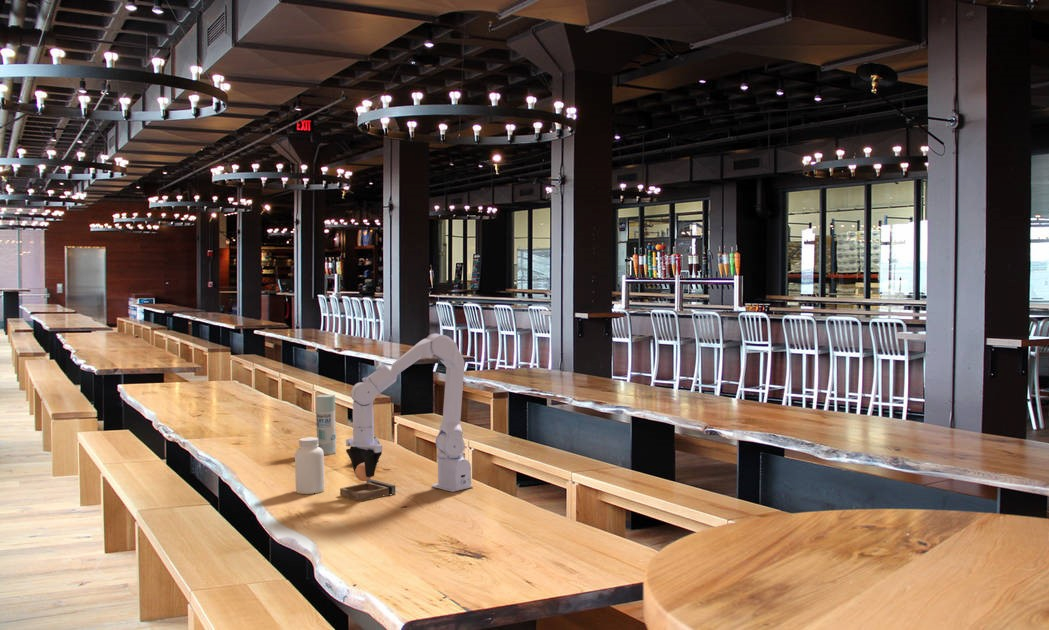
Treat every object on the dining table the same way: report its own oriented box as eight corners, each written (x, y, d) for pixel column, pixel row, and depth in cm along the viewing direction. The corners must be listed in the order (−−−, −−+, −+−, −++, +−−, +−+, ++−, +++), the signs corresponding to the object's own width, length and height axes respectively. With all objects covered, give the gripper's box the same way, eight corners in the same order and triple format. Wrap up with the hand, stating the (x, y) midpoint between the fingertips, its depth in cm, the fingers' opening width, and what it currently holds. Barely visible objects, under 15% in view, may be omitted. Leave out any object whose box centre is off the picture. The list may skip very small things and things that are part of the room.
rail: (395, 494, 241) (395, 485, 241) (391, 495, 240) (391, 486, 240) (370, 487, 250) (369, 478, 250) (366, 488, 249) (366, 479, 249)
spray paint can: (339, 451, 302) (338, 394, 301) (331, 455, 296) (330, 397, 295) (321, 451, 303) (320, 394, 303) (313, 455, 297) (312, 396, 296)
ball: (377, 480, 241) (377, 462, 240) (362, 483, 237) (362, 465, 237) (366, 477, 244) (366, 460, 244) (351, 480, 240) (351, 462, 240)
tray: (389, 494, 241) (389, 487, 241) (360, 501, 234) (360, 494, 234) (368, 489, 247) (368, 482, 247) (340, 495, 241) (340, 488, 240)
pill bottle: (289, 493, 244) (288, 440, 243) (306, 487, 251) (305, 435, 250) (314, 495, 241) (312, 442, 240) (330, 489, 248) (329, 436, 248)
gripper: (336, 425, 242) (337, 473, 243) (366, 431, 232) (367, 481, 232) (357, 421, 247) (358, 469, 248) (388, 427, 237) (389, 477, 237)
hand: (364, 475), depth 240 cm, fingers closed on ball, 5 cm apart
